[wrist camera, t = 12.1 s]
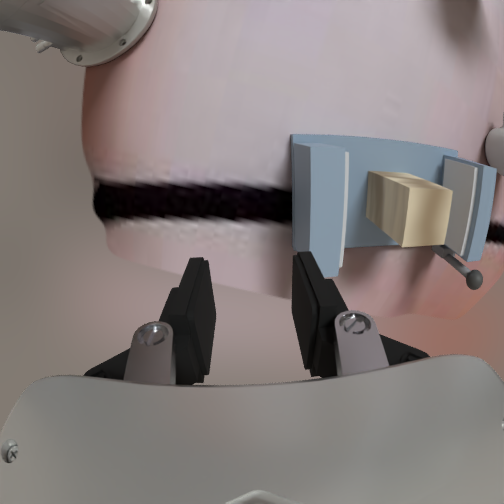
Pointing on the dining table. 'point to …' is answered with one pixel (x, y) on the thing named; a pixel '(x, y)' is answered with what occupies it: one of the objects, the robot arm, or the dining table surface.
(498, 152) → the cup
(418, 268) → the dining table surface
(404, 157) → the vise bed
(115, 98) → the dining table surface
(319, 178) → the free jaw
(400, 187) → the maple block
